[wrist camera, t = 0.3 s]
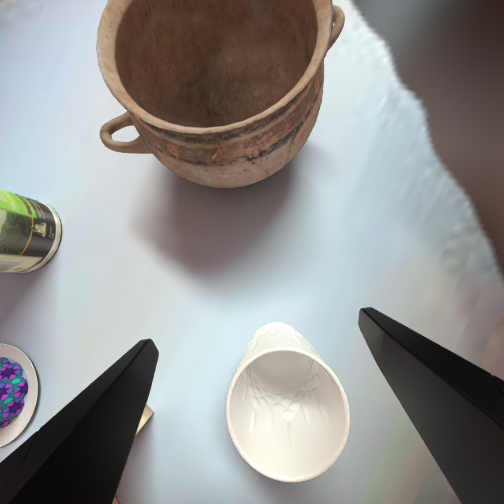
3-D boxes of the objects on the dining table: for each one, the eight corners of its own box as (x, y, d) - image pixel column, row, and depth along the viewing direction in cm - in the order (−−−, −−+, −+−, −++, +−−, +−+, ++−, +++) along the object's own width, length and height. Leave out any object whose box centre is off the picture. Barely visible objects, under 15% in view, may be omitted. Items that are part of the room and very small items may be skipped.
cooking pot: (183, 245, 25) (103, 214, 12) (129, 130, 27) (21, 14, 15) (355, 154, 24) (442, 34, 12) (283, 48, 27) (297, -134, 15)
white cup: (292, 402, 21) (315, 512, 11) (231, 364, 22) (203, 434, 12) (323, 338, 22) (371, 389, 12) (263, 304, 23) (261, 325, 13)
